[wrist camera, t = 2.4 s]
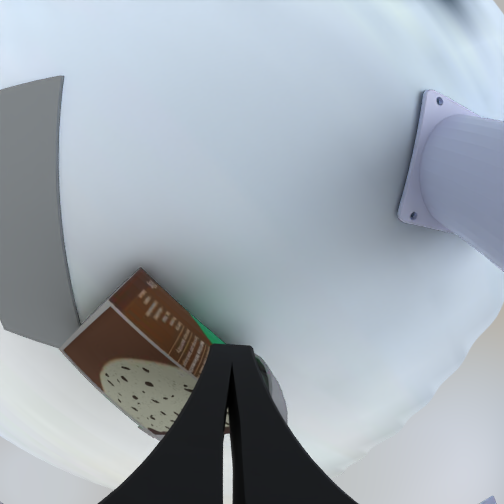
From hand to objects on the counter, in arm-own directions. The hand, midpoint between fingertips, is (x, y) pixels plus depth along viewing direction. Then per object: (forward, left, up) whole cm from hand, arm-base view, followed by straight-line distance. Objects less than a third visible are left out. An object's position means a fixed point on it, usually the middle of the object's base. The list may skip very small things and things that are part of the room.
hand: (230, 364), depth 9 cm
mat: (+16, 0, -7) cm, 17 cm away
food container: (+7, +2, -6) cm, 9 cm away
